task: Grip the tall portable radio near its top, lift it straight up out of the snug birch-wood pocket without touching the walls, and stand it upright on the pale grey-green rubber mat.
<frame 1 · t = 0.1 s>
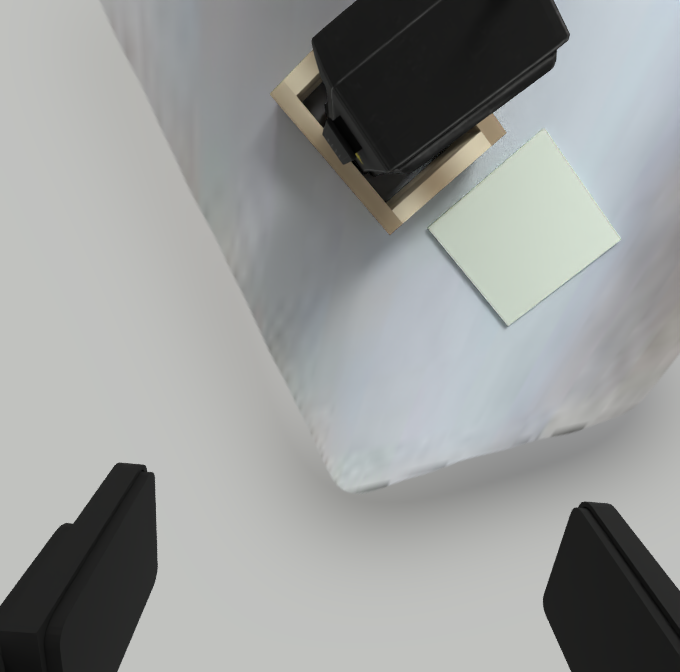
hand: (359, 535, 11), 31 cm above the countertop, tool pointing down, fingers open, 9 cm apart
portable radio: (377, 123, 37), resting in wooden pocket
wooden pocket: (382, 118, 37), on the countertop
rubber mat: (523, 233, 40), on the countertop
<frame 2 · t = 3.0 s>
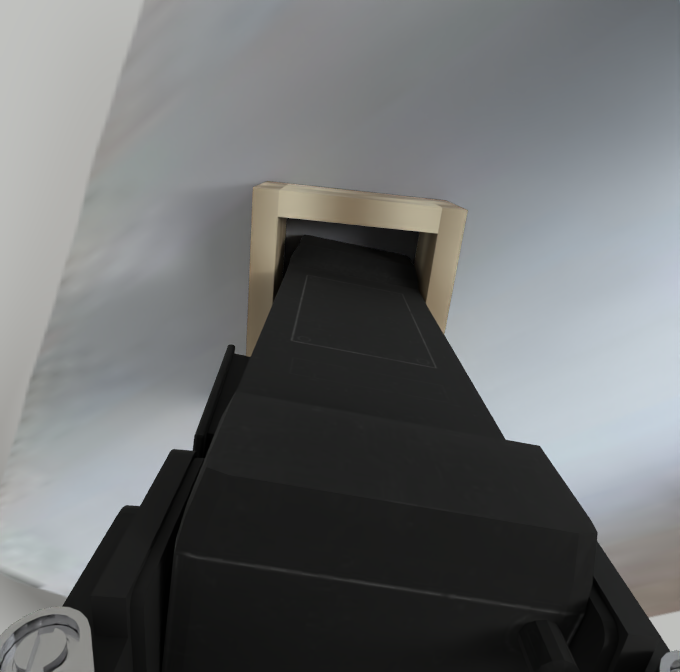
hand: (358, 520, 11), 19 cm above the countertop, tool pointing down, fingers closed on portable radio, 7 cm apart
portable radio: (337, 291, 30), resting in wooden pocket, touching gripper
wooden pocket: (345, 294, 30), on the countertop
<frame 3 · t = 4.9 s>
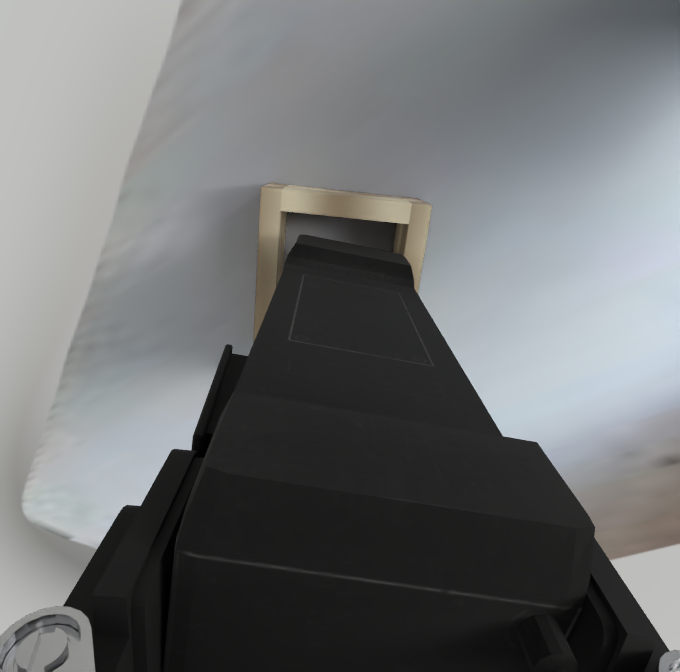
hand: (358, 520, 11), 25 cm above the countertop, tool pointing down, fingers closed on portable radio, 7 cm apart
portable radio: (333, 290, 30), point 6 cm above the countertop, touching gripper
wooden pocket: (335, 277, 35), on the countertop
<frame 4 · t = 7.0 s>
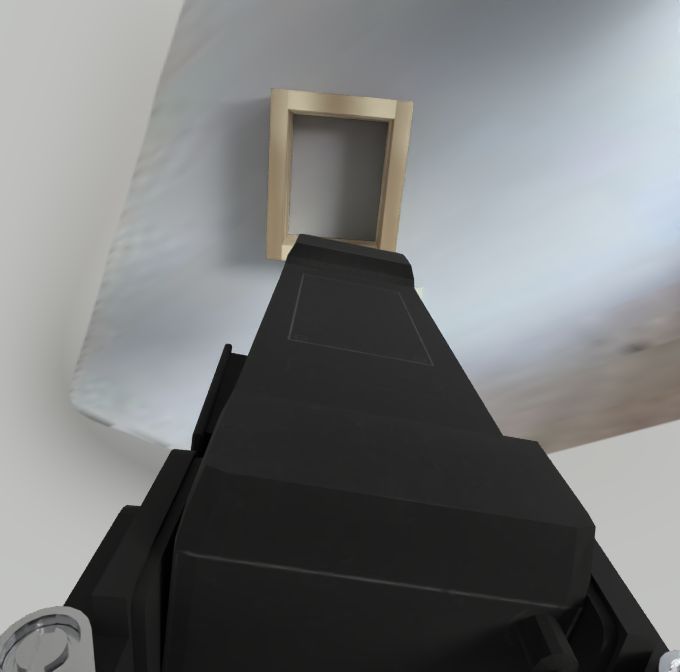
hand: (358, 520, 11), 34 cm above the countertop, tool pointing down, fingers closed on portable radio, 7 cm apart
portable radio: (333, 290, 30), point 14 cm above the countertop, touching gripper
wooden pocket: (336, 180, 41), on the countertop
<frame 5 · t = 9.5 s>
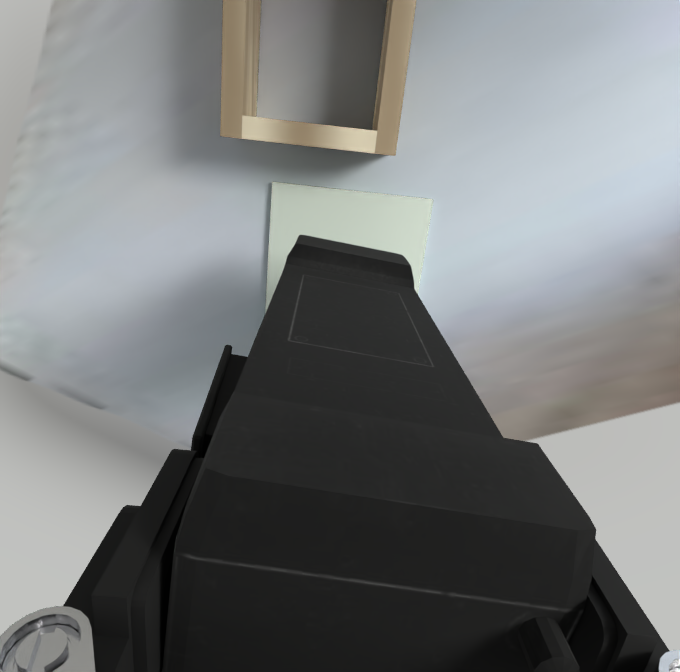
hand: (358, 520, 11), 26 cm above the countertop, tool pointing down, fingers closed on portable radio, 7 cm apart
portable radio: (333, 291, 30), point 6 cm above the countertop, touching gripper
wooden pocket: (320, 44, 31), on the countertop
rubber mat: (344, 269, 36), on the countertop
when the fingers open (21 cm above the countertop, at t = 11.3 s): portable radio stays where it is, resting on rubber mat.
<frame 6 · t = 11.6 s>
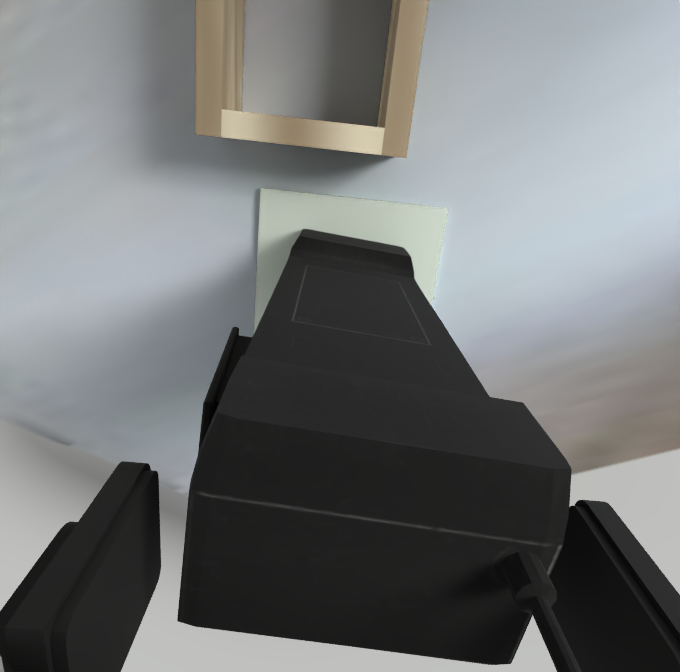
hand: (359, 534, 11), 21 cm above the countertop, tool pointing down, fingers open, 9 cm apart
portable radio: (336, 283, 31), resting on rubber mat
wooden pocket: (316, 25, 26), on the countertop
rubber mat: (344, 288, 31), on the countertop
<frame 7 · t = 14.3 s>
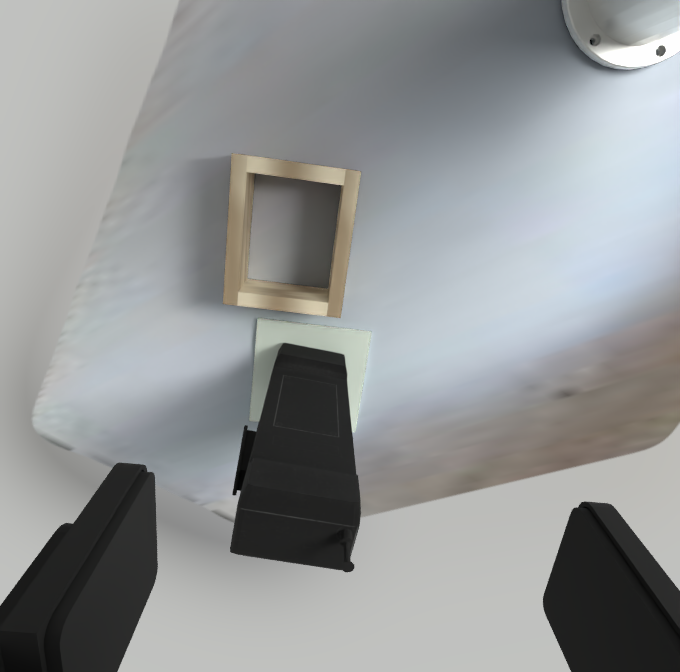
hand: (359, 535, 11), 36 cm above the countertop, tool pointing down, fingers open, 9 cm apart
portable radio: (303, 373, 49), resting on rubber mat
wooden pocket: (293, 232, 45), on the countertop
rubber mat: (308, 376, 49), on the countertop
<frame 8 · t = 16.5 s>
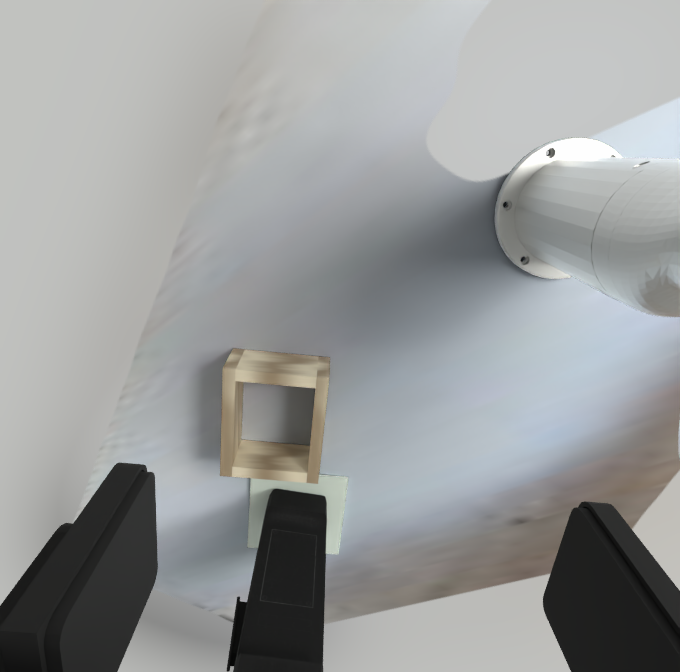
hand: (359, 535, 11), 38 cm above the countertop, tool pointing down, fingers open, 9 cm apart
portable radio: (291, 510, 58), resting on rubber mat
wooden pocket: (278, 404, 53), on the countertop
rubber mat: (296, 511, 58), on the countertop
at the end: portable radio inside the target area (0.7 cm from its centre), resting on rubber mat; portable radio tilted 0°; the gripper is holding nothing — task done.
